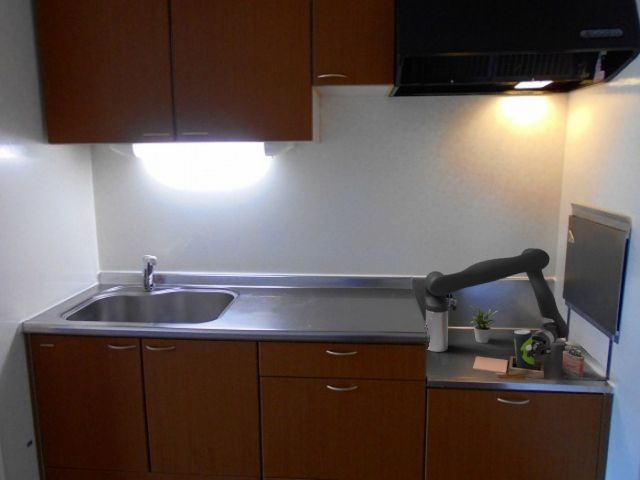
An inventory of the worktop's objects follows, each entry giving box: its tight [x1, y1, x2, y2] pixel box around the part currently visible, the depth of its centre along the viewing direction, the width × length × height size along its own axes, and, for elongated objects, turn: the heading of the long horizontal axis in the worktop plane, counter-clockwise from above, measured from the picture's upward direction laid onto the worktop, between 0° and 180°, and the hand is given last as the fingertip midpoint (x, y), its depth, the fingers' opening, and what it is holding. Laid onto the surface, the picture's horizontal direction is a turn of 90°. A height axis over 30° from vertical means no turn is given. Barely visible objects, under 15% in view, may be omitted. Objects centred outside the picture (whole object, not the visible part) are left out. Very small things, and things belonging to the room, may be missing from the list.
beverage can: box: [513, 328, 536, 370], centre depth 190 cm, size 6×6×15 cm
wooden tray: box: [508, 355, 545, 380], centre depth 190 cm, size 12×12×2 cm
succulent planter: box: [561, 345, 585, 378], centre depth 186 cm, size 8×3×10 cm, turn 29°
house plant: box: [468, 305, 499, 344], centre depth 220 cm, size 14×14×16 cm
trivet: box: [472, 355, 509, 375], centre depth 195 cm, size 12×12×1 cm
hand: (524, 354), depth 186 cm, fingers closed on beverage can
